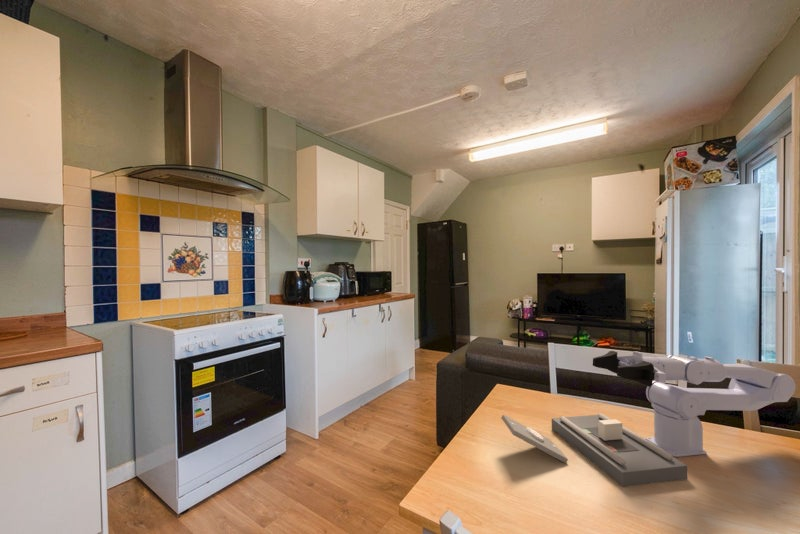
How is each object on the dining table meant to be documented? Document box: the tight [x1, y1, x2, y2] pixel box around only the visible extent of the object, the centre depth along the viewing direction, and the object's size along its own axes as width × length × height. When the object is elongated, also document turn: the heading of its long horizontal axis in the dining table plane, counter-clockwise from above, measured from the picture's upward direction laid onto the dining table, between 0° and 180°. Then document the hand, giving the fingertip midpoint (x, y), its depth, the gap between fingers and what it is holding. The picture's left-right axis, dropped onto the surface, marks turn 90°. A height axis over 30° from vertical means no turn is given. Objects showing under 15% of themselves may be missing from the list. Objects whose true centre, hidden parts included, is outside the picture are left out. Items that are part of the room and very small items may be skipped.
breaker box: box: [551, 414, 689, 488], centre depth 79 cm, size 16×24×3 cm, turn 8°
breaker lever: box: [598, 418, 623, 440], centre depth 79 cm, size 5×2×4 cm, turn 98°
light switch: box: [500, 414, 569, 464], centre depth 78 cm, size 8×6×14 cm
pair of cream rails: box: [559, 412, 674, 466], centre depth 79 cm, size 13×21×1 cm, turn 8°
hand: (605, 366), depth 78 cm, fingers open, 7 cm apart
